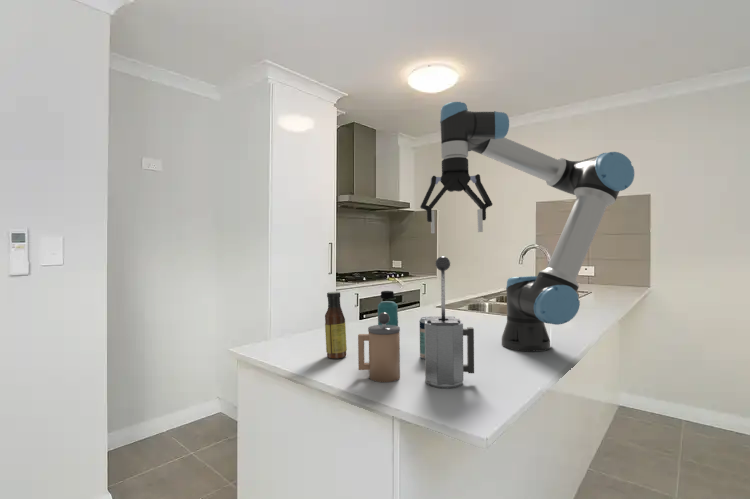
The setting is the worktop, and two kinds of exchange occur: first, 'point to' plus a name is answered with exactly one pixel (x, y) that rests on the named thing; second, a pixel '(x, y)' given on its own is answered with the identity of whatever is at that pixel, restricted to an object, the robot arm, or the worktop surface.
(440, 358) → the steel carafe
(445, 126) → the robot arm
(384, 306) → the beverage bottle
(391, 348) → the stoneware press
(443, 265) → the plunger
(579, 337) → the worktop surface
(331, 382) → the worktop surface
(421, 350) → the beer can
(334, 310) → the sauce bottle
